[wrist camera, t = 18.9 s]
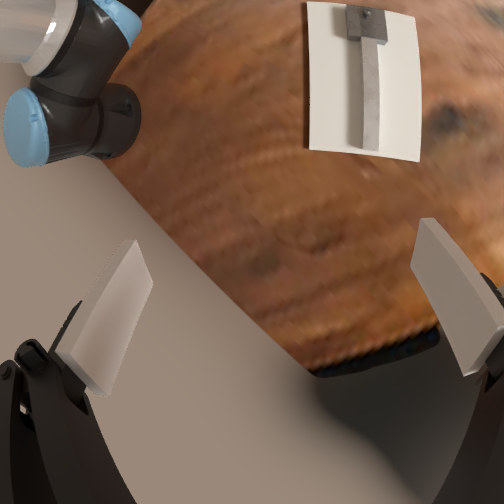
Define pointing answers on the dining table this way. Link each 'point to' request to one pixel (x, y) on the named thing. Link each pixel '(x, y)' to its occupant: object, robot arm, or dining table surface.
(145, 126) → the dining table surface
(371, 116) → the brushed metal bar
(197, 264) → the dining table surface
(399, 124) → the mat
